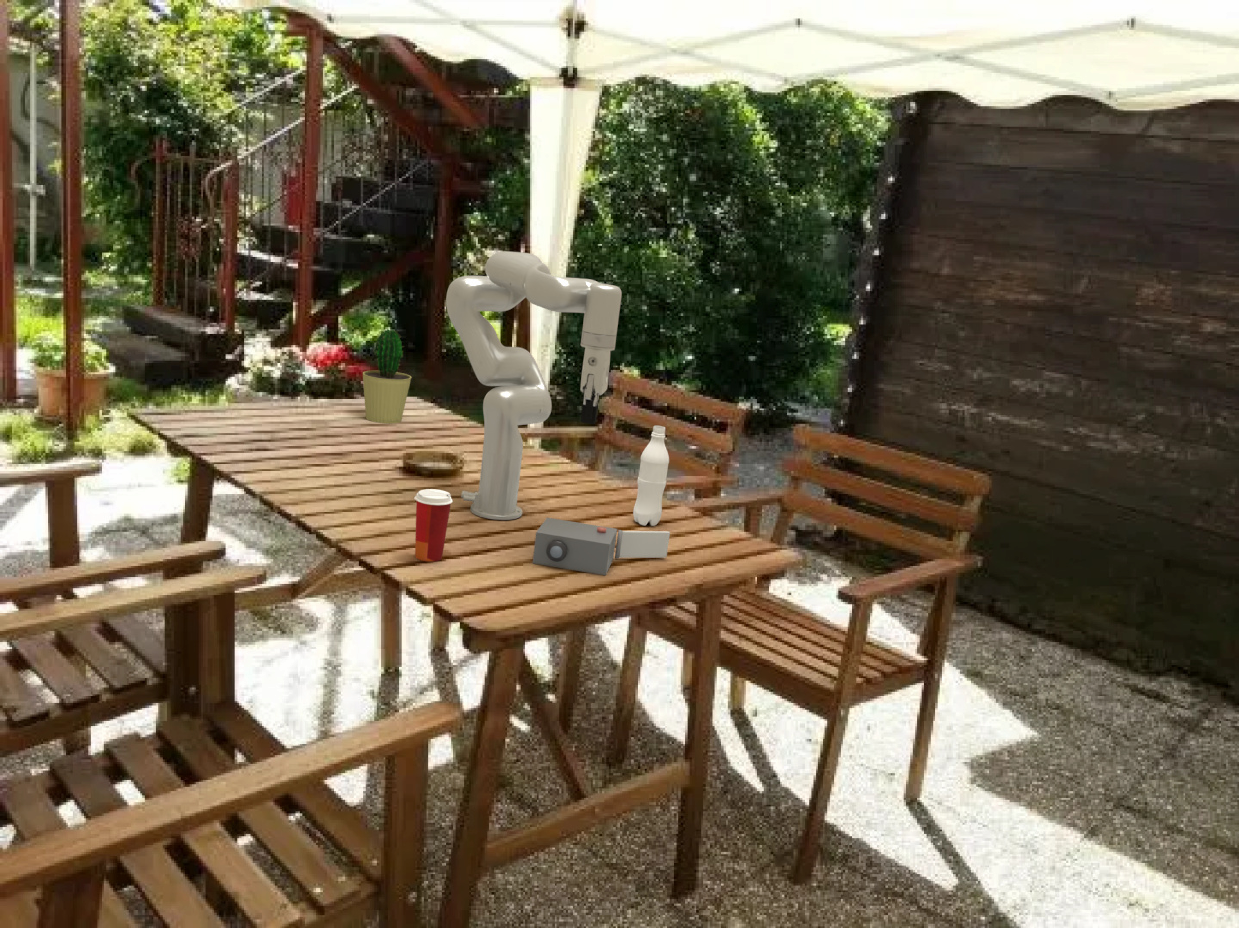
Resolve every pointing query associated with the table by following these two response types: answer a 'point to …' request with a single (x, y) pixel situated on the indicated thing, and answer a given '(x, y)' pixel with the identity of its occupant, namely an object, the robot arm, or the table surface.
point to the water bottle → (652, 479)
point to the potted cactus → (386, 382)
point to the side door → (642, 544)
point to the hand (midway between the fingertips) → (588, 422)
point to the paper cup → (431, 523)
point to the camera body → (574, 546)
